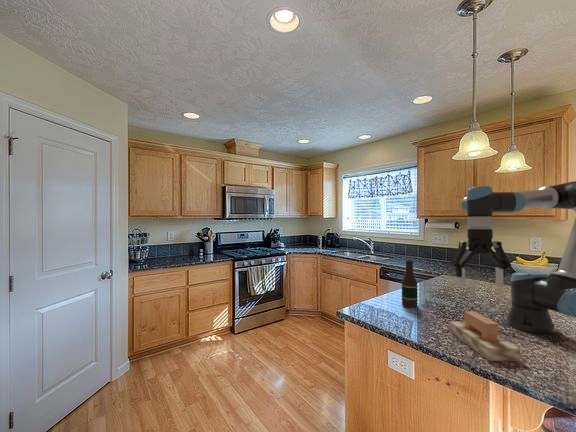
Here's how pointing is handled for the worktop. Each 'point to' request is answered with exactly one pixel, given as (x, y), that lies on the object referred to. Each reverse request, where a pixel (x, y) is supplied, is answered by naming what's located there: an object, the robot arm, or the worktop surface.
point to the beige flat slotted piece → (485, 344)
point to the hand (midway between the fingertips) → (480, 286)
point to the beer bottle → (409, 287)
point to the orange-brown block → (482, 326)
